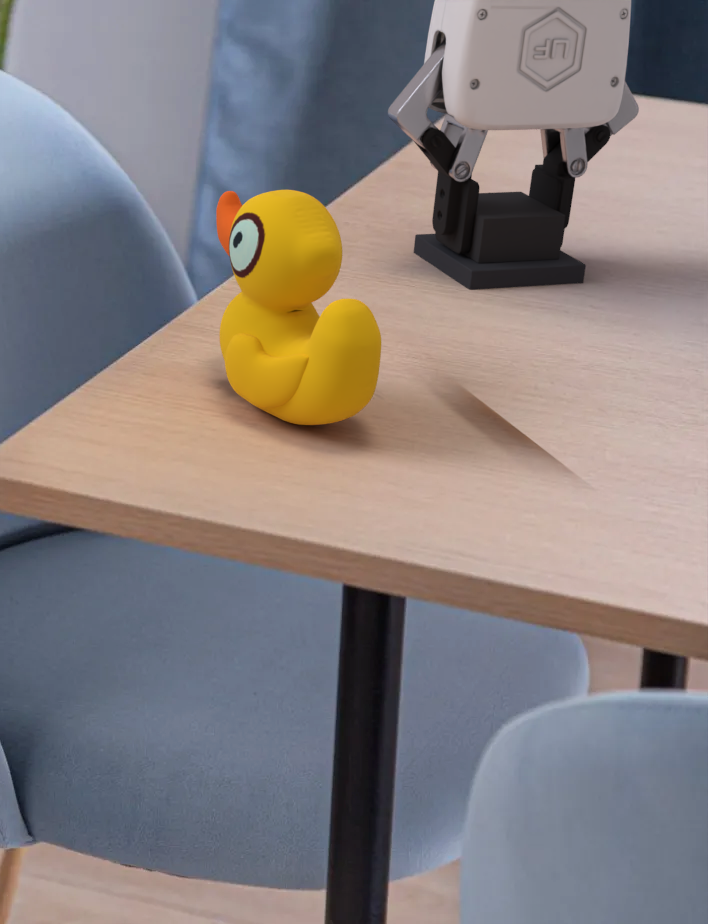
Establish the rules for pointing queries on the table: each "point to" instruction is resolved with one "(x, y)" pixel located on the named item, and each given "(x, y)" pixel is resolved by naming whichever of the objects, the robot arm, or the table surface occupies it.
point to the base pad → (498, 268)
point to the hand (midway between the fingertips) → (498, 240)
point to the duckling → (293, 312)
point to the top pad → (515, 229)
